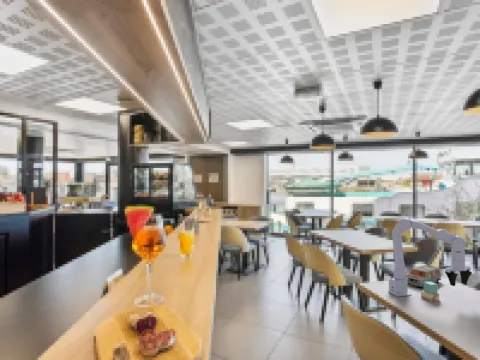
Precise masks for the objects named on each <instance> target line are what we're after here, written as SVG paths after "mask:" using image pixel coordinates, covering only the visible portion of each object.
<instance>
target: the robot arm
mask: <svg viewBox="0 0 480 360" xmlns="http://www.w3.org/2000/svg"><path fill="white" fill-rule="evenodd" d="M411 228H412V229H411ZM410 229H411V230H417V229H419V230H421V231H424V232H426V233H429V234H431V235H433V236H434V237H435V239H436V240H439V241H441V242H444V243H446V244H448V245H451V250H450V251H451V254H450V255H451V256H450V257H451V258H450V259H451V264H450V265H451V266H448V267H445V270H444V273H445V274H446V277H447V278H448V281H449V285H450V286H453V287H455V286H456V283H457V282H456V281H457V277H458V275H459V274H460V281H461V284H462V285H463V286H464V285H465V286H467V284H468V281H469V278H470V276H471V275H472V273H473V272H472V271H471V270H472V266H468V265H466V251H465V247H466V242H465V239H464V238H463V237H462V236H461V235H457V234H456V233H452V232H449V231H447V229H445V228H439V229H436V228H434V227H431V226H429V225H428V224H425V223H423V222H421V221H418V220H416V219H411V218H410V217H403V218H401V219H400V220H399V221H397V222H396V224H395V225H394V227H393V228H392V230H391V237H392V239H391V240H392V247H393V257H394V270H393V272H392V273H393V277H391V278H390V279H389V280H388V290H387V292H388V293H390V294H391V295H394V296H395V297H406V296H407V297H408V296H412V294H411V293H410V292H408V278H407V277H406V275H407V273H408V268H407V267H406V264H405V260H404V258H405V257H404V249H403V241H402V234H403V233H404V232H406V231H408V230H410ZM455 272H459V274H458V273H455Z"/></svg>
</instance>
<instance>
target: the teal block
mask: <svg viewBox="0 0 480 360" xmlns="http://www.w3.org/2000/svg"><path fill="white" fill-rule="evenodd" d="M423 290H424V291H425V292H427V293H429V294H436V293H438V283H437V284H436V283H433V282H431V281H430V282H424V289H423Z"/></svg>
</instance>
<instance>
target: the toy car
mask: <svg viewBox="0 0 480 360" xmlns="http://www.w3.org/2000/svg"><path fill="white" fill-rule="evenodd" d="M406 277H407V278H408V284H409V285H413V286H418V287H420V289H421V288H422V290H424V282H430V281H431V282H433V283H436V284H437V285H438V284H439V281H441V280H442V278H441V277H442V273H441V270H440V268H439V267H437V266H433V265H427V264H423V265H419V266H415V267H413V268H411V269H410V271H409V273H408V274H406Z"/></svg>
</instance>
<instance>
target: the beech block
mask: <svg viewBox="0 0 480 360" xmlns="http://www.w3.org/2000/svg"><path fill="white" fill-rule="evenodd" d="M420 297H421V299H423V300H425V301H428V302H431V303H432V302H438V301H440V293H439V292H437V293H436V294H429V293H427V292H425V291H424V289H422V290H421V291H420Z"/></svg>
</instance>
